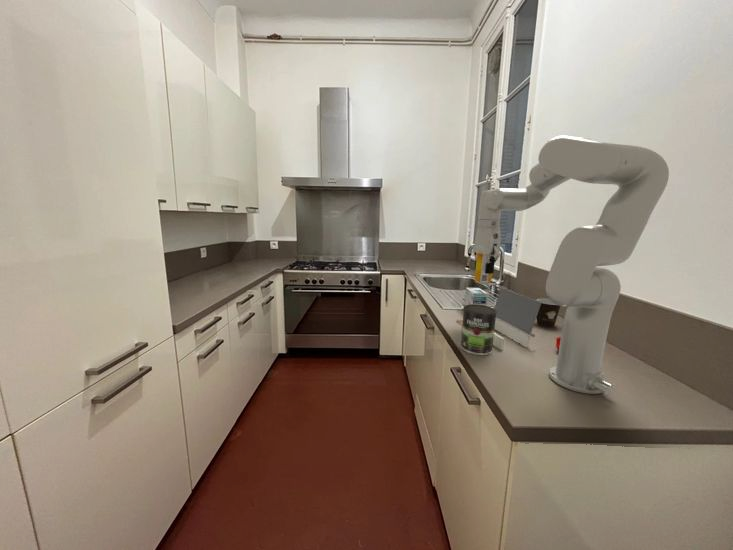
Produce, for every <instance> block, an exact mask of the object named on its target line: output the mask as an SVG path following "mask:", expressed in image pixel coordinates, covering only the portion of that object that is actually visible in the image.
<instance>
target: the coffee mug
mask: <svg viewBox="0 0 733 550" xmlns="http://www.w3.org/2000/svg"><path fill="white" fill-rule="evenodd" d="M536 300H537V301H540V302H542V303H541V305H540V308H539V311H538V314H537V317H536V324H537V325H538V326H539V327H544V328H554V327H555V325H556V322H557V319H558V315H559V312H560V309H561V306H559V305H556V304H554V303H553V302H552V301H551V300H550V299H549V298H537V299H536Z"/></svg>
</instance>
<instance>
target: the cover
mask: <svg viewBox="0 0 733 550" xmlns="http://www.w3.org/2000/svg"><path fill="white" fill-rule="evenodd" d="M541 303H542V302H540V301H537V299H534V298H531V297H527V296H526V295H522V294H520V293H517V292H513V291H512V290H510V289H509V290H508V289H506V288H503V287H501V288H500V289H499V292H498V295H497V299H496V302H495V305H494V307H493V308H494V309H495V310H496V311H497V314H496V319H498V320H500V321H502V322H504V323H505V324H507V325H509V326H511V327H513V328H515V329H517V330H519V331H521V332H523V333H525V334H527V335H529V334H530V333H532V332H533V328H534V326H535V322H536V321H537V318H536V317H537V314H538V311H539V308H540V305H541ZM529 336H530V335H529Z"/></svg>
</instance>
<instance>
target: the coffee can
mask: <svg viewBox="0 0 733 550" xmlns="http://www.w3.org/2000/svg"><path fill="white" fill-rule="evenodd" d="M494 308H495V307H491V306H488V305H487V306H484V305H473V304H472V305H466V306H465V305H464V306H463V314H462V315H463V316H462V318H463V324H462V325H461V337H460V345H459V346H460V349H461V350H463V352H466V353H468V354H470V355H475V356H476V355H477V356H488V355H491V354H492V353H493V346H494V345H493V337H494V333H495V329H494V328H495V320H496V319H497V318H496V314H497V311H496V310H495V309H494Z"/></svg>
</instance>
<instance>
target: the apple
mask: <svg viewBox="0 0 733 550" xmlns="http://www.w3.org/2000/svg"><path fill="white" fill-rule="evenodd" d="M555 340H556V343H555V347H556V349H557V351H559V347H560V340H561V336H560V337H557V338H556V339H555Z"/></svg>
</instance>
